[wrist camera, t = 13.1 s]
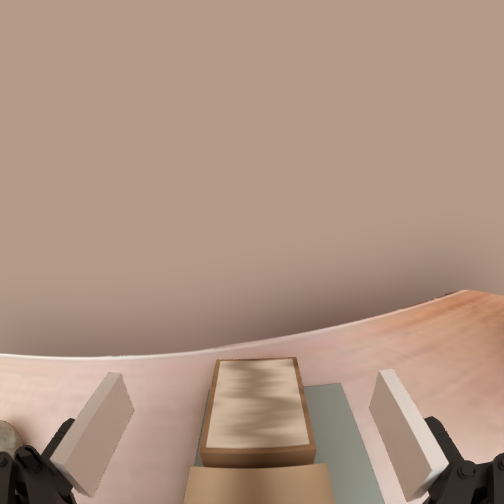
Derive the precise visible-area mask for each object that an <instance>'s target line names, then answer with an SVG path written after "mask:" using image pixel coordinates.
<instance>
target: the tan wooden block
mask: <svg viewBox="0 0 504 504" xmlns="http://www.w3.org/2000/svg"><path fill="white" fill-rule="evenodd" d="M183 504H336V503H335V498H334V493H333V489H332V484H331V480H330V475H329V471H328V466H327V463H320V464H312V465H303V466H293V467H280V468H256V469H232V468H209V467H195V466H190V470H189V475H188V480H187V485H186V490H185V495H184V500H183Z"/></svg>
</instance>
